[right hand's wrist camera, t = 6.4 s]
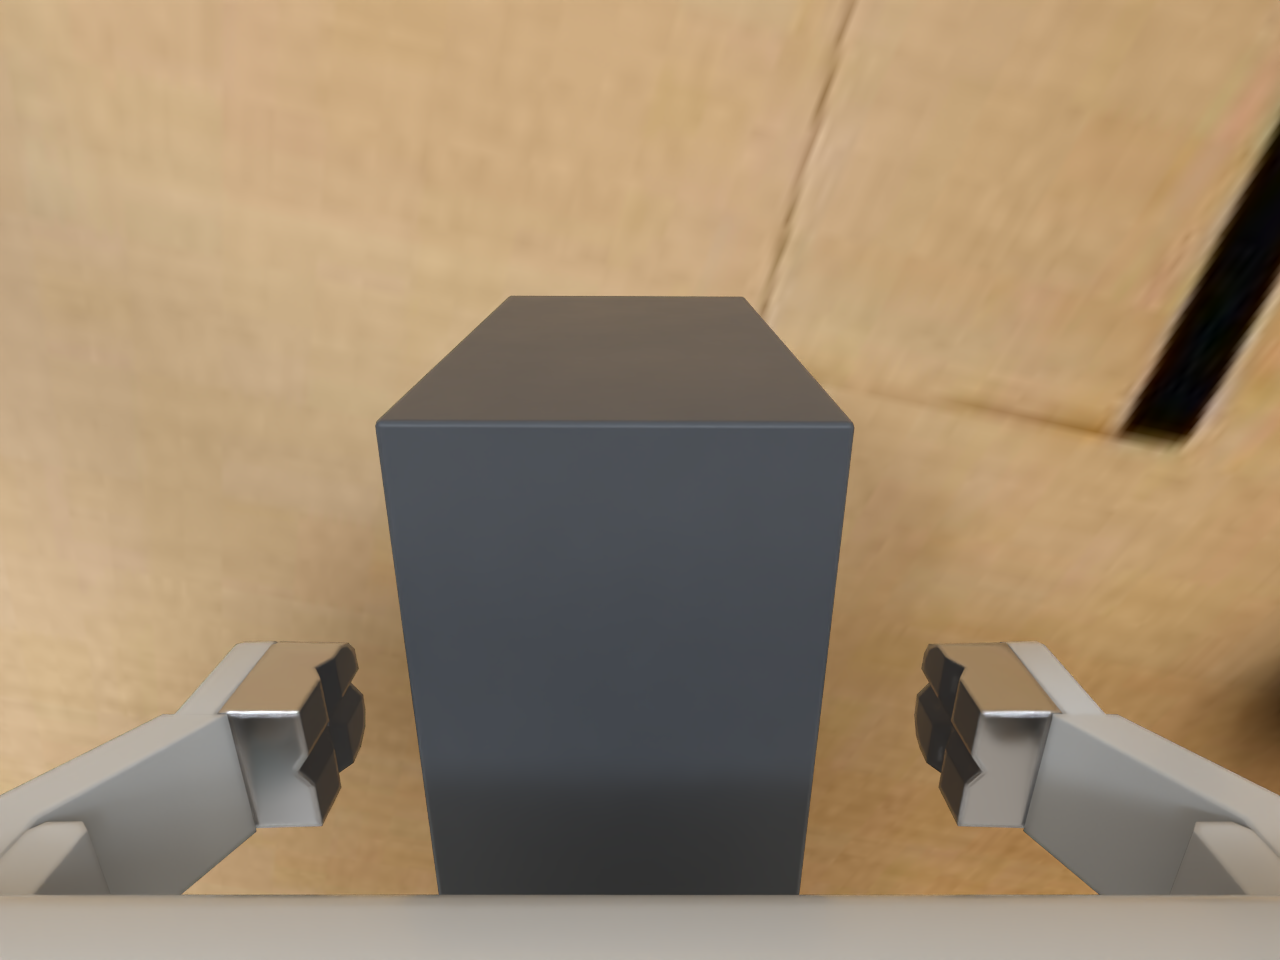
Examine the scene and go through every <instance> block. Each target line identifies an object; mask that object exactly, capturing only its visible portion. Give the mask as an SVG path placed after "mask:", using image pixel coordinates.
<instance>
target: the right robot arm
mask: <svg viewBox="0 0 1280 960" xmlns="http://www.w3.org/2000/svg"><path fill="white" fill-rule="evenodd" d="M358 669H359V668H358V663H357V659H356V654H355V649H354V648H353V647H352V646H351V645H350V644H349V643H328V642H275V641H245V642H242V643H239V644H236V645H235V646H234V647H233V648H232V649H231V650H230V652H229V653H228V654H227V655H226V656H225V657H224V658H223V660H222V661H221V662H220V663H219V664H218V665H217V666H216V667H215V669H214V670H213V671H212V672H211V673H210V674H209V675H208V677H207V678H206V679H205V680H204V681H203V682H202V683H201V685H200V686H199V687H198V688H197V689H196V690H195V691H194V693H193V694H192V695H191V696H190V697H189V698H188V699H187V700H186V702H185V703H184V704H183V705H182V706H181V707H180V708H179V710H178V711H177V712H176V713H175V714H162V715H160V716H158V717H156V718H154V719H152V720H150V721H148V722H146V723H144V724H142V725H140V726H138V727H136V728H134V729H132V730H130V731H128V732H126V733H124V734H122V735H120V736H118V737H116V738H114V739H112V740H110V741H108V742H106V743H104V744H102V745H100V746H98V747H96V748H94V749H92V750H90V751H88V752H86V753H84V754H82V755H80V756H78V757H76V758H74V759H72V760H70V761H68V762H66V763H64V764H62V765H60V766H58V767H56V768H54V769H52V770H50V771H48V772H46V773H44V774H42V775H40V776H38V777H36V778H34V779H32V780H30V781H28V782H26V783H24V784H22V785H20V786H18V787H16V788H14V789H12V790H10V791H8V792H6V793H4V794H2V795H0V960H1280V795H1278V794H1276V793H1274V792H1272V791H1270V790H1268V789H1266V788H1264V787H1262V786H1260V785H1258V784H1256V783H1254V782H1252V781H1250V780H1248V779H1246V778H1244V777H1242V776H1240V775H1238V774H1236V773H1234V772H1232V771H1230V770H1228V769H1226V768H1224V767H1222V766H1220V765H1218V764H1216V763H1214V762H1212V761H1210V760H1208V759H1206V758H1204V757H1202V756H1200V755H1198V754H1196V753H1194V752H1192V751H1190V750H1188V749H1186V748H1184V747H1182V746H1180V745H1178V744H1176V743H1174V742H1172V741H1170V740H1168V739H1166V738H1164V737H1162V736H1160V735H1158V734H1156V733H1154V732H1152V731H1150V730H1148V729H1146V728H1144V727H1142V726H1140V725H1138V724H1136V723H1134V722H1132V721H1130V720H1128V719H1126V718H1124V717H1122V716H1120V715H1118V714H1105V713H1104V712H1103V711H1102V710H1101V708H1100V707H1099V706H1098V705H1097V704H1096V703H1095V702H1094V701H1093V699H1092V698H1091V697H1090V696H1089V695H1088V694H1087V693H1086V691H1085V690H1084V689H1083V688H1082V687H1081V686H1080V685H1079V683H1078V682H1077V681H1076V680H1075V679H1074V678H1073V677H1072V675H1071V674H1070V673H1069V672H1068V671H1067V670H1066V669H1065V667H1064V666H1063V665H1062V664H1061V663H1060V662H1059V661H1058V660H1057V658H1056V657H1055V656H1054V655H1053V654H1052V653H1051V652H1050V650H1049V649H1048V648H1047V647H1046V646H1045V645H1044V644H1042V643H1039V642H1037V641H1017V642H1000V643H954V644H929V645H928V647H927V649H926V651H925V653H924V657H923V663H922V668H921V669H922V671H923V672H924V674H925V676H926V678H927V679H928V681H929V683H928V684H927V685H926V686H925V687H924V688H923V689H922V690H921V691H920V692H919V693H918V694H917V698H916V706H915V714H914V716H915V728H916V736H917V740H918V743H919V747H920V750H921V752H922V754H923V756H924V758H925V760H926V763H928V764H929V765H931V766H932V767H933V768H935V769H936V770H938V771H939V772H941V777H940V782H939V789H940V791H941V793H942V795H943V797H944V799H945V801H946V803H947V805H948V807H949V809H950V811H951V813H952V815H953V817H954V819H955V821H956V823H957V825H958V826H972V827H1008V828H1024V830H1023V831H1024V832H1025V833H1026V834H1028V835H1029V836H1030V837H1031V838H1032V839H1034V840H1035V841H1036V842H1037V843H1038V844H1040V845H1041V846H1042V847H1043V848H1044V849H1046V850H1047V851H1048V852H1049V853H1050V854H1051V855H1053V856H1054V857H1055V858H1056V859H1057V860H1059V861H1060V862H1061V863H1062V864H1063V865H1065V866H1066V867H1067V868H1068V869H1069V870H1071V871H1072V872H1073V873H1074V874H1075V875H1077V876H1078V877H1079V878H1080V879H1081V880H1082V881H1084V882H1085V883H1086V884H1087V885H1088V886H1090V887H1091V888H1092V889H1093V890H1094V891H1096V892H1097V893H1098V894H1099V895H181V894H182V893H183V892H185V891H186V890H187V889H188V888H189V887H191V886H192V885H193V884H194V883H195V882H197V881H198V880H199V879H200V878H201V877H203V876H204V875H205V874H206V873H207V872H208V871H210V870H211V869H212V868H213V867H214V866H216V865H217V864H218V863H219V862H220V861H222V860H223V859H224V858H225V857H226V856H228V855H229V854H230V853H231V852H232V851H234V850H235V849H236V848H237V847H238V846H240V845H241V844H242V843H243V842H244V841H246V840H247V839H248V838H249V837H250V836H252V835H253V834H254V833H255V832H256V828H271V827H306V826H322V825H323V823H324V821H325V819H326V817H327V815H328V813H329V811H330V809H331V807H332V805H333V803H334V801H335V799H336V797H337V795H338V793H339V791H340V789H341V782H340V777H339V772H341V771H342V770H344V769H345V768H347V767H348V766H349V765H351V764H352V763H354V760H355V758H356V756H357V754H358V752H359V750H360V747H361V743H362V739H363V734H364V729H365V704H364V698H363V694H362V693H361V692H360V691H359V690H358V689H357V688H356V687H355V686H354V685H353V684H352V683H351V681H352V679H353V678H354V676H355V674H356V672H357V671H358Z"/></svg>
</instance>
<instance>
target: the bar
mask: <svg viewBox="0 0 1280 960" xmlns="http://www.w3.org/2000/svg"><path fill="white" fill-rule="evenodd" d="M375 427H376V435H377V442H378V450H379V457H380V464H381V472H382V479H383V486H384V494H385V501H386V509H387V516H388V523H389V531H390V538H391V545H392V553H393V560H394V568H395V575H396V582H397V590H398V597H399V604H400V612H401V619H402V627H403V634H404V641H405V649H406V656H407V663H408V671H409V678H410V686H411V693H412V700H413V708H414V715H415V723H416V730H417V737H418V745H419V752H420V759H421V767H422V774H423V782H424V789H425V796H426V804H427V811H428V818H429V826H430V833H431V841H432V848H433V855H434V863H435V870H436V877H437V885H438V892H439V895H799V892H800V883H801V875H802V866H803V858H804V849H805V841H806V832H807V824H808V815H809V807H810V798H811V790H812V781H813V773H814V765H815V756H816V748H817V739H818V731H819V722H820V714H821V705H822V697H823V688H824V680H825V671H826V663H827V654H828V646H829V637H830V629H831V621H832V612H833V604H834V595H835V587H836V578H837V570H838V561H839V553H840V544H841V536H842V527H843V519H844V510H845V502H846V493H847V485H848V476H849V468H850V460H851V451H852V443H853V434H854V425H853V423H852V421H851V420H850V419H849V418H848V417H847V416H846V414H845V413H844V412H843V411H842V410H841V409H840V408H839V406H838V405H837V404H836V403H835V402H834V401H833V400H832V398H831V397H830V396H829V395H828V394H827V393H826V391H825V390H824V389H823V388H822V387H821V386H820V385H819V383H818V382H817V381H816V380H815V379H814V378H813V376H812V375H811V374H810V373H809V372H808V371H807V370H806V368H805V367H804V366H803V365H802V364H801V363H800V362H799V360H798V359H797V358H796V357H795V356H794V355H793V353H792V352H791V351H790V350H789V349H788V348H787V347H786V345H785V344H784V343H783V342H782V341H781V340H780V339H779V337H778V336H777V335H776V334H775V333H774V332H773V330H772V329H771V328H770V327H769V326H768V325H767V324H766V322H765V321H764V320H763V319H762V318H761V317H760V316H759V314H758V313H757V312H756V311H755V310H754V309H753V307H752V306H751V305H750V304H749V303H748V302H747V301H746V299H745V298H743V297H666V296H510V297H508V298H507V299H506V300H505V301H504V302H503V303H502V304H501V305H500V306H499V307H498V308H497V309H496V310H494V311H493V312H492V313H491V314H490V315H489V316H488V317H487V318H486V319H485V320H484V321H483V322H482V323H481V324H480V325H479V326H477V327H476V328H475V329H474V330H473V331H472V332H471V333H470V334H469V335H468V336H467V337H466V338H465V339H464V340H463V341H461V342H460V343H459V344H458V345H457V346H456V347H455V348H454V349H453V350H452V351H451V352H450V353H449V354H448V355H447V356H446V357H444V358H443V359H442V360H441V361H440V362H439V363H438V364H437V365H436V366H435V367H434V368H433V369H432V370H431V371H430V372H429V373H427V374H426V375H425V376H424V377H423V378H422V379H421V380H420V381H419V382H418V383H417V384H416V385H415V386H414V387H413V388H412V389H410V390H409V391H408V392H407V393H406V394H405V395H404V396H403V397H402V398H401V399H400V400H399V401H398V402H397V403H396V404H395V405H393V406H392V407H391V408H390V409H389V410H388V411H387V412H386V413H385V414H384V415H383V416H382V417H381V418H380V419H379V420H378V421H377V422H376V425H375Z"/></svg>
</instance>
